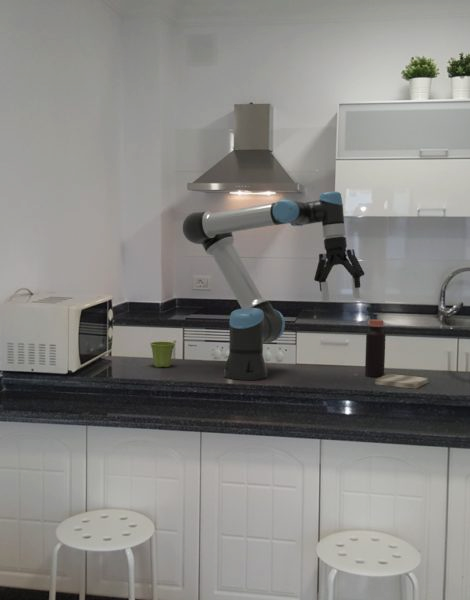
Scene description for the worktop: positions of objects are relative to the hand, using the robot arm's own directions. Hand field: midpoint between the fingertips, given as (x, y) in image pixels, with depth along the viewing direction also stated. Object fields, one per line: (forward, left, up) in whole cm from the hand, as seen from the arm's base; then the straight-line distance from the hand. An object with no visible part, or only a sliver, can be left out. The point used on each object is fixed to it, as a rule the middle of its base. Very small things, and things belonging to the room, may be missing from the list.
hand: (341, 299), depth 242 cm
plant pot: (-65, -14, -28) cm, 72 cm away
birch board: (+20, +7, -28) cm, 35 cm away
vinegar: (+7, +15, -28) cm, 33 cm away
